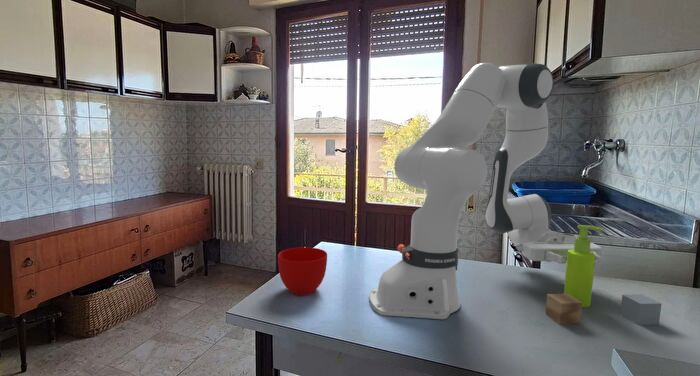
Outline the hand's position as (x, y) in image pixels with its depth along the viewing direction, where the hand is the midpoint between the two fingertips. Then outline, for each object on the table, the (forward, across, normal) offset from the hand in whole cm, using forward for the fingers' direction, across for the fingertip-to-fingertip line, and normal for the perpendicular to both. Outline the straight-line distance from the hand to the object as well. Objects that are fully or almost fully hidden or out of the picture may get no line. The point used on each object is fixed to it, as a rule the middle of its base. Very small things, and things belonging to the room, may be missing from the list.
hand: (581, 260), depth 92 cm
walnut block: (+8, -10, +11) cm, 17 cm away
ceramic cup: (-12, -70, +11) cm, 71 cm away
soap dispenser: (0, 0, +11) cm, 11 cm away
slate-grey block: (+10, +8, +11) cm, 17 cm away
